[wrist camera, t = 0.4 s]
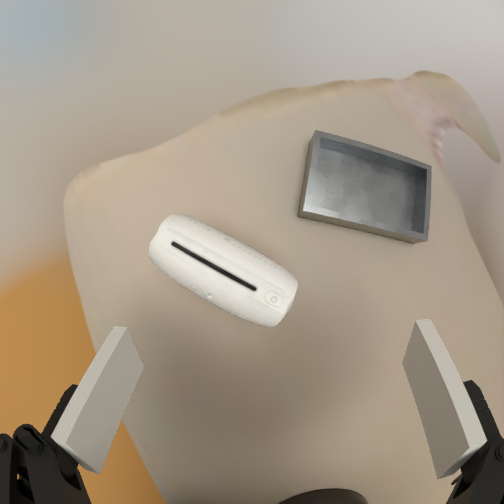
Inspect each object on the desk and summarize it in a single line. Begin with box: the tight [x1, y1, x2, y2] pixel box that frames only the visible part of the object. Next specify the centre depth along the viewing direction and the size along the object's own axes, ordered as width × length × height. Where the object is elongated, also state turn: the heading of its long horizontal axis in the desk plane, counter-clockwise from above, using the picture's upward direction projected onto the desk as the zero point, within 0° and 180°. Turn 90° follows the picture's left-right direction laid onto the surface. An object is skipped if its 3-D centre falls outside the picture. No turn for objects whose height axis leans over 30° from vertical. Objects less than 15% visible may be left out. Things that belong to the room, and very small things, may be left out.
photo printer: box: [149, 213, 298, 327], centre depth 23 cm, size 10×4×12 cm, turn 61°
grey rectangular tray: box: [298, 130, 431, 244], centre depth 28 cm, size 8×13×3 cm, turn 79°
